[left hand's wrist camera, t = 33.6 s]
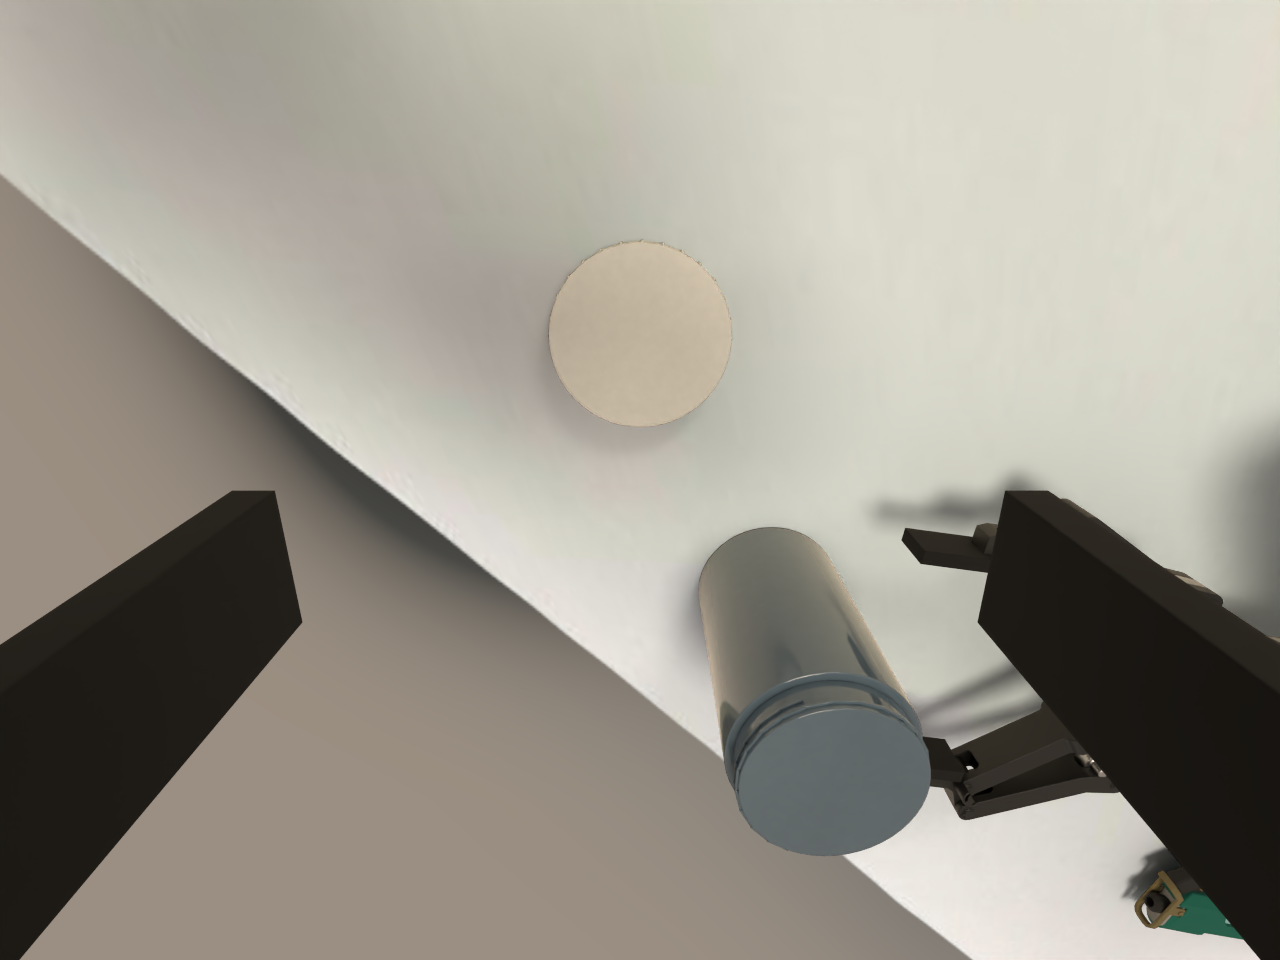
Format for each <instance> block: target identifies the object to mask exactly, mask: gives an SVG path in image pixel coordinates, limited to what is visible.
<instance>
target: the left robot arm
mask: <svg viewBox="0 0 1280 960" xmlns="http://www.w3.org/2000/svg"><path fill="white" fill-rule="evenodd" d="M301 623H302V618H301V613H300V609H299V604H298V599H297V594H296V590H295V585H294V580H293V575H292V570H291V566H290V561H289V556H288V552H287V547H286V542H285V537H284V532H283V528H282V523H281V518H280V513H279V509H278V504H277V499H276V494H275V491H231V492H229V493H228V494H226V495H225V496H224V497H222V498H220V499H219V500H217V501H216V502H215V503H213V504H212V505H210V506H208V507H207V508H205V509H204V510H203V511H201V512H199V513H198V514H196V515H195V516H193V517H192V518H190V519H189V520H187V521H186V522H184V523H183V524H181V525H180V526H178V527H177V528H175V529H174V530H172V531H171V532H169V533H168V534H166V535H165V536H163V537H162V538H160V539H159V540H157V541H156V542H154V543H153V544H151V545H150V546H148V547H147V548H145V549H144V550H142V551H141V552H139V553H138V554H136V555H135V556H133V557H132V558H130V559H129V560H127V561H126V562H124V563H123V564H121V565H120V566H118V567H117V568H115V569H114V570H112V571H111V572H109V573H108V574H106V575H105V576H103V577H102V578H100V579H99V580H97V581H96V582H94V583H93V584H91V585H90V586H88V587H87V588H85V589H84V590H82V591H81V592H79V593H78V594H76V595H75V596H73V597H71V598H70V599H68V600H67V601H65V602H64V603H62V604H61V605H59V606H58V607H56V608H55V609H54V610H52V611H50V612H49V613H48V614H46V615H45V616H43V617H41V618H40V619H38V620H37V621H35V622H34V623H32V624H31V625H29V626H28V627H26V628H25V629H23V630H22V631H20V632H19V633H17V634H16V635H14V636H13V637H11V638H10V639H8V640H7V641H5V642H4V643H2V644H1V645H0V960H20V958H21V957H22V956H23V955H24V954H25V952H26V951H27V950H28V949H29V948H30V946H31V945H32V944H33V943H34V942H35V940H36V939H37V938H38V937H39V936H40V935H41V933H42V932H43V931H44V930H45V929H46V927H47V926H48V925H49V924H50V923H51V921H52V920H53V919H54V918H55V917H56V915H57V914H58V913H59V912H60V911H61V909H62V908H63V907H64V906H65V905H66V904H67V902H68V901H69V900H70V899H71V898H72V896H73V895H74V894H75V893H76V892H77V890H78V889H79V888H80V887H81V886H82V884H83V883H84V882H85V881H86V880H87V878H88V877H89V876H90V875H91V874H92V873H93V871H94V870H95V869H96V868H97V867H98V865H99V864H100V863H101V862H102V861H103V859H104V858H105V857H106V856H107V855H108V853H109V852H110V851H111V850H112V849H113V848H114V846H115V845H116V844H117V843H118V842H119V840H120V839H121V838H122V837H123V836H124V834H125V833H126V832H127V831H128V830H129V828H130V827H131V826H132V825H133V824H134V822H135V821H136V820H137V819H138V818H139V816H140V815H141V814H142V813H143V812H144V811H145V809H146V808H147V807H148V806H149V805H150V803H151V802H152V801H153V800H154V799H155V797H156V796H157V795H158V794H159V793H160V791H161V790H162V789H163V788H164V787H165V785H166V784H167V783H168V782H169V781H170V780H171V778H172V777H173V776H174V775H175V773H176V772H177V771H178V770H179V769H180V768H181V766H182V765H183V764H184V763H185V762H186V760H187V759H188V758H189V757H190V756H191V754H192V753H193V752H194V751H195V750H196V749H197V747H198V746H199V745H200V744H201V743H202V741H203V740H204V739H205V738H206V737H207V735H208V734H209V733H210V732H211V731H212V729H213V728H214V727H215V726H216V725H217V723H218V722H219V721H220V720H221V719H222V718H223V716H224V715H225V714H226V713H227V712H228V710H229V709H230V708H231V707H232V706H233V704H234V703H235V702H236V701H237V700H238V698H239V697H240V696H241V695H242V694H243V692H244V691H245V690H246V689H247V688H248V687H249V685H250V684H251V683H252V682H253V681H254V679H255V678H256V677H257V676H258V675H259V673H260V672H261V671H262V670H263V669H264V667H265V666H266V665H267V664H268V663H269V661H270V660H271V659H272V658H273V657H274V656H275V654H276V653H277V652H278V651H279V650H280V648H281V647H282V646H283V645H284V644H285V642H286V641H287V640H288V639H289V638H290V636H291V635H292V634H293V633H294V632H295V630H296V629H297V628H298V627H299V626H300V625H301ZM978 623H979V625H980V626H981V627H982V628H983V629H984V630H985V632H986V633H987V634H988V635H989V636H990V638H991V639H992V640H993V641H994V642H995V644H996V645H997V646H998V647H999V648H1000V650H1001V651H1002V652H1003V653H1004V654H1005V656H1006V657H1007V658H1008V659H1009V660H1010V661H1011V663H1012V664H1013V665H1014V666H1015V667H1016V669H1017V670H1018V671H1019V672H1020V673H1021V675H1022V676H1023V677H1024V678H1025V679H1026V681H1027V682H1028V683H1029V684H1030V685H1031V687H1032V688H1033V689H1034V690H1035V691H1036V692H1037V694H1038V695H1039V696H1040V697H1041V698H1042V700H1043V701H1044V702H1045V703H1046V704H1047V706H1048V707H1049V708H1050V709H1051V710H1052V712H1053V713H1054V714H1055V715H1056V716H1057V718H1058V719H1059V720H1060V721H1061V722H1062V723H1063V725H1064V726H1065V727H1066V728H1067V729H1068V731H1069V732H1070V733H1071V734H1072V735H1073V737H1074V738H1075V739H1076V740H1077V741H1078V743H1079V744H1080V745H1081V746H1082V747H1083V749H1084V750H1085V751H1086V752H1087V753H1088V754H1089V756H1090V757H1091V758H1092V759H1093V760H1094V762H1095V763H1096V764H1097V765H1098V766H1099V768H1100V769H1101V770H1102V771H1103V772H1104V774H1105V775H1106V776H1107V777H1108V778H1109V780H1110V781H1111V782H1112V783H1113V784H1114V785H1115V787H1116V788H1117V789H1118V790H1119V791H1120V793H1121V794H1122V795H1123V796H1124V797H1125V799H1126V800H1127V801H1128V802H1129V803H1130V805H1131V806H1132V807H1133V808H1134V809H1135V811H1136V812H1137V813H1138V814H1139V815H1140V817H1141V818H1142V819H1143V820H1144V821H1145V822H1146V824H1147V825H1148V826H1149V827H1150V828H1151V830H1152V831H1153V832H1154V833H1155V834H1156V836H1157V837H1158V838H1159V839H1160V840H1161V842H1162V843H1163V844H1164V845H1165V846H1166V848H1167V849H1168V850H1169V851H1170V852H1171V853H1172V855H1173V856H1174V857H1175V858H1176V859H1177V861H1178V862H1179V863H1180V864H1181V865H1182V867H1183V868H1184V869H1185V870H1186V871H1187V873H1188V874H1189V875H1190V876H1191V877H1192V879H1193V880H1194V881H1195V882H1196V883H1197V884H1198V886H1199V887H1200V888H1201V889H1202V890H1203V892H1204V893H1205V894H1206V895H1207V896H1208V898H1209V899H1210V900H1211V901H1212V902H1213V904H1214V905H1215V906H1216V907H1217V908H1218V910H1219V911H1220V912H1221V913H1222V914H1223V915H1224V917H1225V918H1226V919H1227V920H1228V921H1229V923H1230V924H1231V925H1232V926H1233V927H1234V929H1235V930H1236V931H1237V932H1238V933H1239V935H1240V936H1241V937H1242V938H1243V939H1244V941H1245V942H1246V943H1247V944H1248V945H1249V946H1250V948H1251V949H1252V950H1253V951H1254V952H1255V954H1256V955H1257V956H1258V957H1259V958H1260V960H1280V642H1278V641H1276V640H1274V639H1272V638H1269V637H1267V636H1266V635H1264V634H1263V633H1261V632H1260V631H1258V630H1257V629H1255V628H1254V627H1252V626H1251V625H1249V624H1248V623H1246V622H1245V621H1243V620H1242V619H1240V618H1239V617H1237V616H1236V615H1234V614H1233V613H1231V612H1230V611H1228V610H1227V609H1225V608H1224V607H1222V606H1221V605H1219V604H1218V603H1216V602H1215V601H1213V600H1212V599H1210V598H1209V597H1207V596H1205V595H1204V594H1202V593H1201V592H1199V591H1198V590H1196V589H1195V588H1193V587H1192V586H1190V585H1189V584H1187V583H1186V582H1184V581H1183V580H1181V579H1180V578H1178V577H1177V576H1175V575H1174V574H1172V573H1171V572H1169V571H1168V570H1166V569H1165V568H1163V567H1162V566H1160V565H1159V564H1157V563H1156V562H1154V561H1153V560H1151V559H1150V558H1148V557H1147V556H1145V555H1144V554H1142V553H1141V552H1139V551H1138V550H1136V549H1135V548H1133V547H1132V546H1130V545H1129V544H1127V543H1126V542H1124V541H1123V540H1121V539H1120V538H1118V537H1117V536H1115V535H1114V534H1112V533H1111V532H1109V531H1108V530H1106V529H1105V528H1103V527H1102V526H1100V525H1099V524H1097V523H1096V522H1094V521H1093V520H1091V519H1090V518H1088V517H1087V516H1085V515H1084V514H1082V513H1081V512H1079V511H1078V510H1076V509H1075V508H1073V507H1072V506H1070V505H1069V504H1067V503H1066V502H1064V501H1063V500H1061V499H1060V498H1058V497H1057V496H1055V495H1054V494H1052V493H1051V492H1049V491H1005V494H1004V499H1003V504H1002V509H1001V513H1000V518H999V523H998V528H997V532H996V537H995V542H994V547H993V551H992V556H991V561H990V566H989V570H988V575H987V580H986V585H985V590H984V594H983V599H982V604H981V609H980V613H979V618H978Z"/></svg>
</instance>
